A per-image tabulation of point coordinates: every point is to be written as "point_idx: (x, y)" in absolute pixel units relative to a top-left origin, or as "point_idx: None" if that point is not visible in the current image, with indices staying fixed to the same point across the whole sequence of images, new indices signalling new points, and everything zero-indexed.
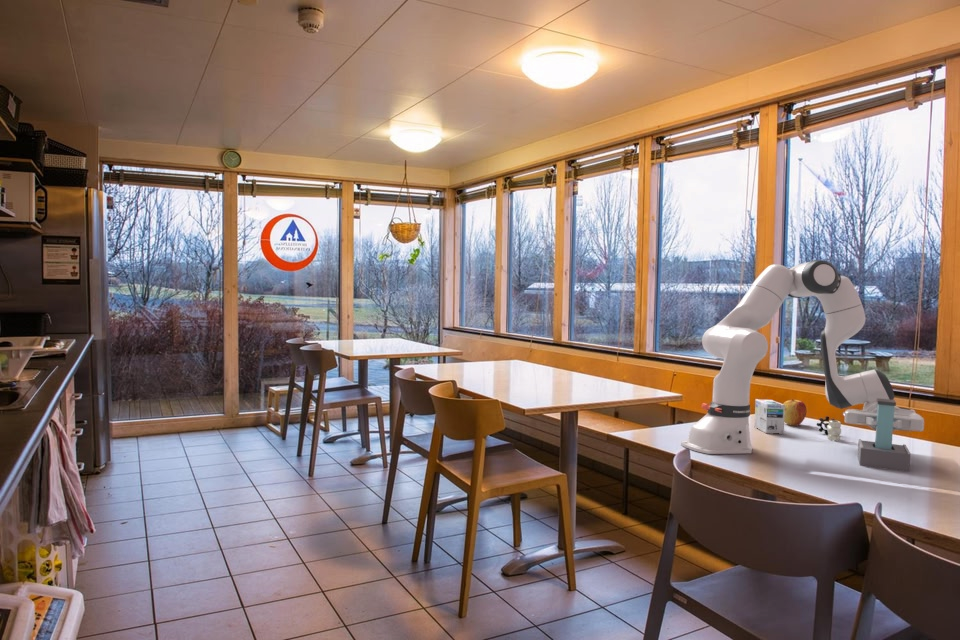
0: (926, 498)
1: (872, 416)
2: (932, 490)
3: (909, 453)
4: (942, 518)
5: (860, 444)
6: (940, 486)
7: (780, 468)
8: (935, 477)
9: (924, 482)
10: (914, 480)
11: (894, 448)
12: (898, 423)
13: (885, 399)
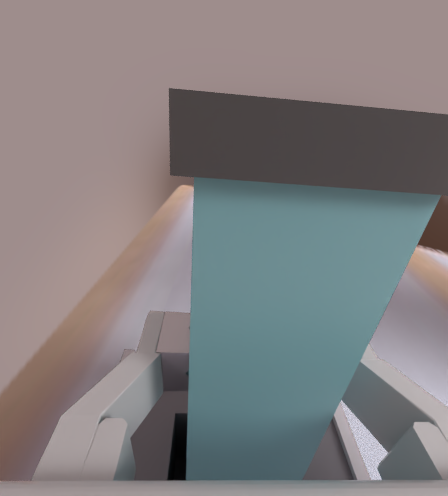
0: (165, 246)
1: (444, 486)
2: (131, 285)
3: (128, 350)
4: (172, 204)
5: (347, 422)
6: (88, 322)
7: (432, 301)
8: (23, 439)
9: (117, 340)
10: None
11: (166, 466)
12: (152, 311)
13: (338, 105)
